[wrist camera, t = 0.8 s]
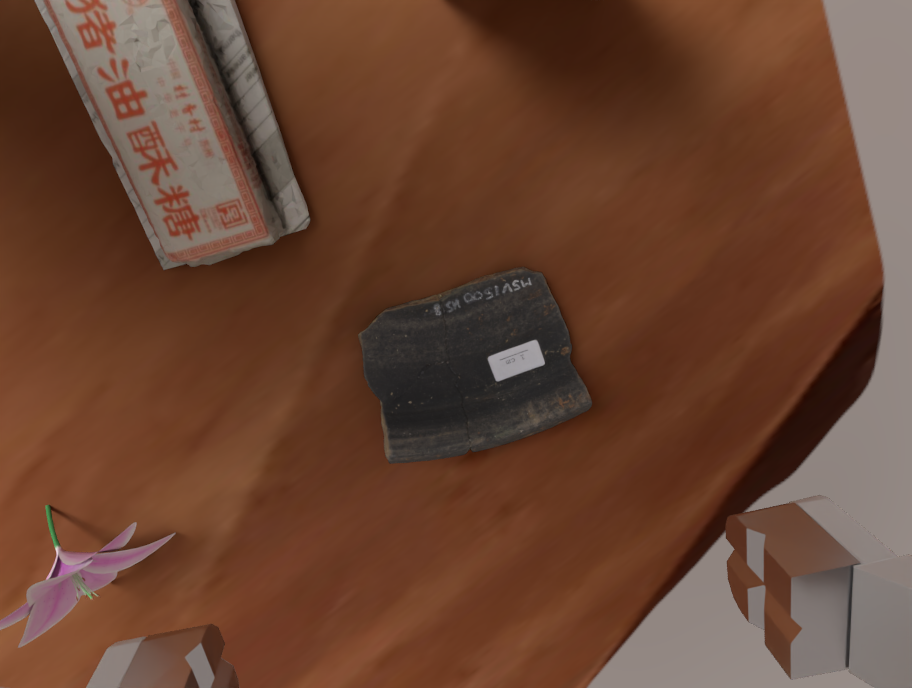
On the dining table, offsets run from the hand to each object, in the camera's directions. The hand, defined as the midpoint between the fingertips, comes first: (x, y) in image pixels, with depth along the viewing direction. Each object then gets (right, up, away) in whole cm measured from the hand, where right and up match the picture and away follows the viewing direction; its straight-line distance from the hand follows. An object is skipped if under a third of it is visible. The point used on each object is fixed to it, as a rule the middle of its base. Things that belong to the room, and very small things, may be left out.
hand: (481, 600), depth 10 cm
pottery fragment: (+1, +3, +37) cm, 37 cm away
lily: (-27, -10, +38) cm, 48 cm away
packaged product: (-17, +18, +28) cm, 37 cm away
